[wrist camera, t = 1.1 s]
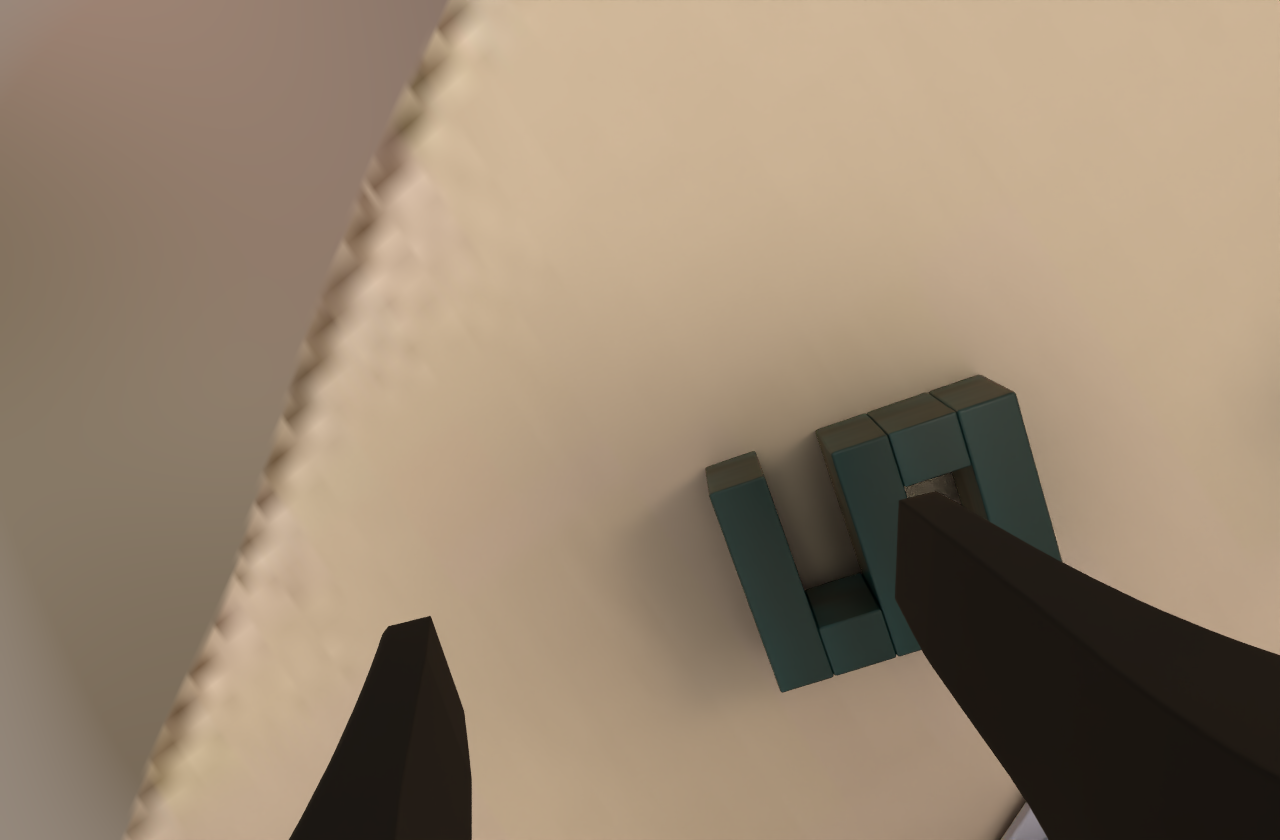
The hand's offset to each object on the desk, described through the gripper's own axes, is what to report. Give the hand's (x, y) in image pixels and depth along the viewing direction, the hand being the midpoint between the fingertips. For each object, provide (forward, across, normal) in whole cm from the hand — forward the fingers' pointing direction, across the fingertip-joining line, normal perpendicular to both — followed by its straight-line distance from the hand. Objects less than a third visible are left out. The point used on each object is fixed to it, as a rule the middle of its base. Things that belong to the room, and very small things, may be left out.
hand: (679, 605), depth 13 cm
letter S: (+9, -7, +7) cm, 13 cm away
